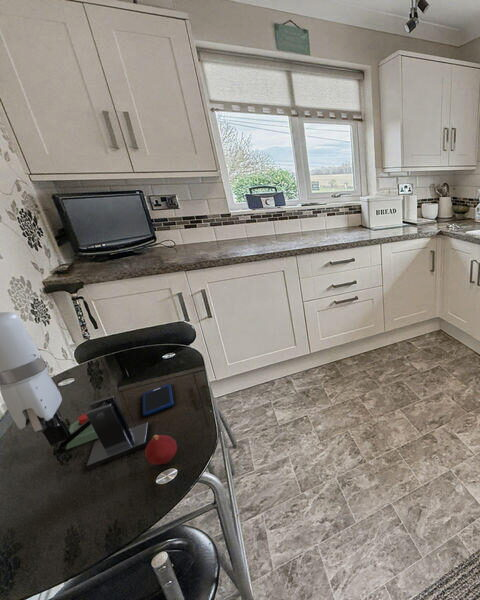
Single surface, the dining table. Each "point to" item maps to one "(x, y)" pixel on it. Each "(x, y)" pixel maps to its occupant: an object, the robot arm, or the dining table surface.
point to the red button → (82, 418)
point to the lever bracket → (113, 433)
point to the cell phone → (157, 400)
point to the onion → (160, 449)
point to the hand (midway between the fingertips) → (60, 439)
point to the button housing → (81, 435)
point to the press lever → (75, 433)
